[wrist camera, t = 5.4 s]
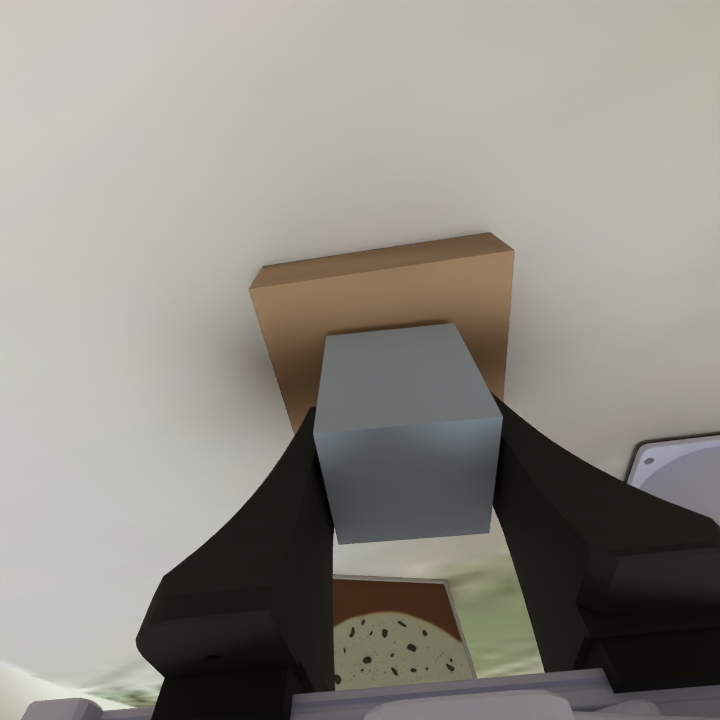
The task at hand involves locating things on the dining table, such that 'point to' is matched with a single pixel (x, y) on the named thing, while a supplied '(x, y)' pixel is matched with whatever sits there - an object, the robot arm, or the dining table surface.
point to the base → (384, 305)
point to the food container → (396, 633)
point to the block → (406, 435)
